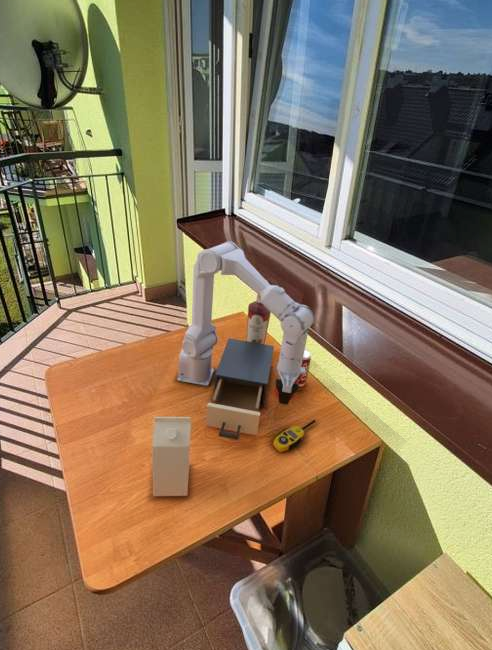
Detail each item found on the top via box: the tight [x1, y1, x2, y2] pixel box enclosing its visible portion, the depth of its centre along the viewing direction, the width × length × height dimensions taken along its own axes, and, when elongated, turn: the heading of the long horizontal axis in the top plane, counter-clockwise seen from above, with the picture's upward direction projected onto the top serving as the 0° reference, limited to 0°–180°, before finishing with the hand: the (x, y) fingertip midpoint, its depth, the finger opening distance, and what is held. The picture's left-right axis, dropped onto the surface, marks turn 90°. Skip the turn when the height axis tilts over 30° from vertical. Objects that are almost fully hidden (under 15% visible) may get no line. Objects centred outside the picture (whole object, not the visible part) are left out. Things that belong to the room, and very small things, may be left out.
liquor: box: [245, 279, 272, 344], centre depth 121 cm, size 7×7×28 cm
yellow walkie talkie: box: [272, 419, 317, 453], centre depth 98 cm, size 5×2×15 cm
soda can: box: [294, 349, 312, 391], centre depth 114 cm, size 5×5×12 cm
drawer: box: [205, 378, 263, 441], centre depth 101 cm, size 22×13×7 cm, turn 171°
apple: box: [274, 385, 297, 401], centre depth 98 cm, size 5×5×6 cm
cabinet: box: [213, 337, 275, 409], centre depth 113 cm, size 19×15×9 cm
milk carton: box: [151, 416, 192, 497], centre depth 79 cm, size 7×7×19 cm
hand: (284, 395), depth 98 cm, fingers closed on apple, 5 cm apart
